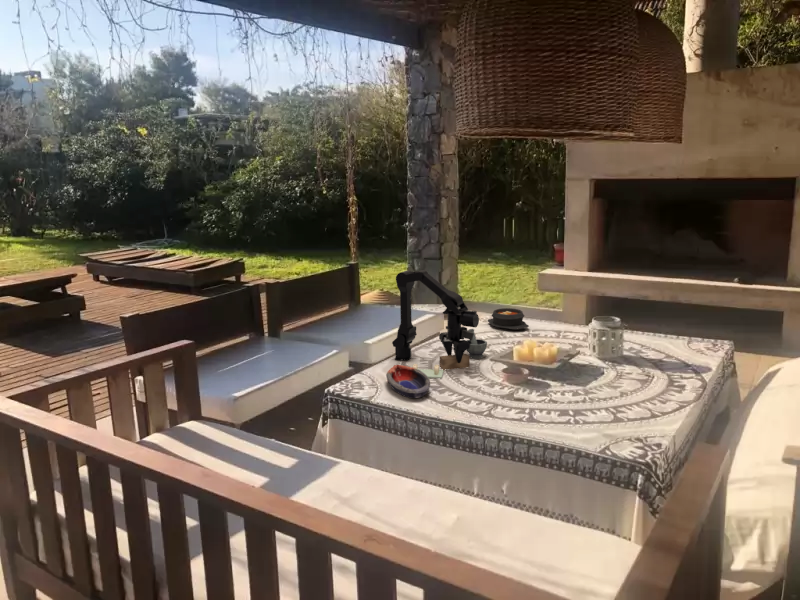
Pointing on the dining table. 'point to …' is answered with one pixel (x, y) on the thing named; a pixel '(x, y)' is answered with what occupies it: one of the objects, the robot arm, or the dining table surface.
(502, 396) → the dining table surface
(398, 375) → the dish
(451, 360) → the brown rectangular block
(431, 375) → the strip
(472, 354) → the mortar and pestle
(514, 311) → the casserole
